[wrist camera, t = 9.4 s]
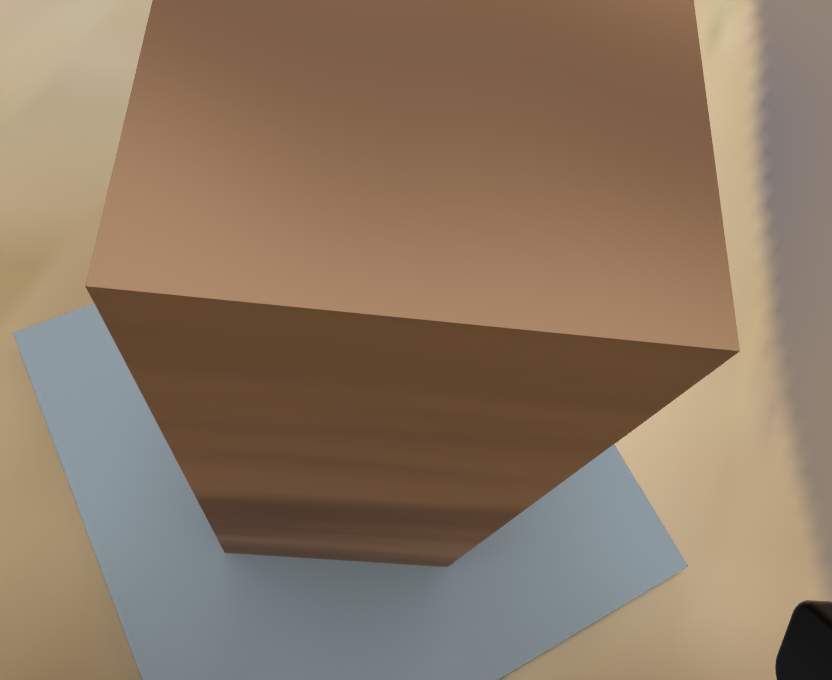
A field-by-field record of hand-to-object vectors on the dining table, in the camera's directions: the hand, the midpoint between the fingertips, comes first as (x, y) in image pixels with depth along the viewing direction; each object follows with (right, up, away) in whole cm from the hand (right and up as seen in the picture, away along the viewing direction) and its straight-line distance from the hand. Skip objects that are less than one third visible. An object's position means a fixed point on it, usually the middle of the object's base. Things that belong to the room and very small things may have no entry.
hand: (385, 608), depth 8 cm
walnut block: (-1, 0, +11) cm, 11 cm away
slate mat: (-1, 0, +11) cm, 11 cm away
